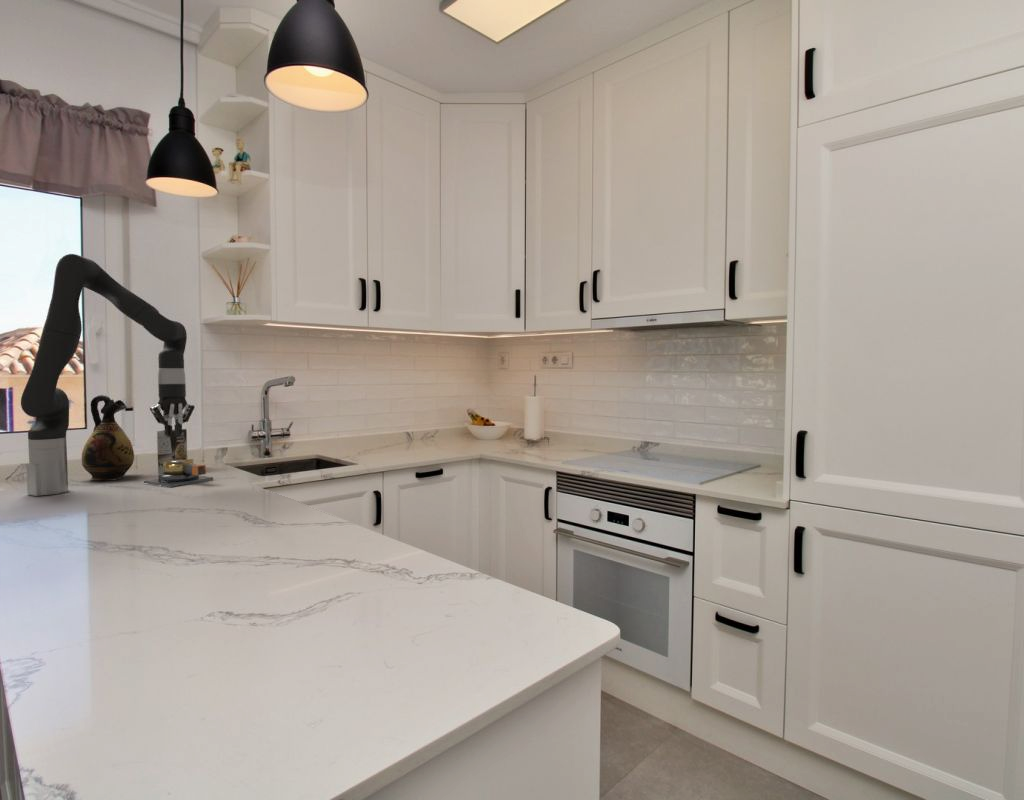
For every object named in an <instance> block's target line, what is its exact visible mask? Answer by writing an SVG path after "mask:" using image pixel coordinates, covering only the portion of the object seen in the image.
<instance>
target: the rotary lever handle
mask: <svg viewBox="0 0 1024 800" xmlns="http://www.w3.org/2000/svg"><path fill="white" fill-rule="evenodd" d="M171 461H173V460H168V462H164V463H163V474H167V475H175V474H186V473H187V474H192V475H199V476H204V475H206V474H207V473H206V472H207V471H206V469H207V468H206V464H194V459H193V458H187V459H186V461H182V462H181V464H172V462H171Z"/></svg>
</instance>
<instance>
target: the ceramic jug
mask: <svg viewBox="0 0 1024 800" xmlns="http://www.w3.org/2000/svg"><path fill="white" fill-rule="evenodd" d="M100 402H104V405H103V406H102V408H101V409H100V412H99V408H98V406H99V404H100ZM126 409H127V405H126V403H125V402H124V401H122V400H121V399H118V400H115V401H114V399H111V398H110V397H109V396H107V395H102V394H99V395H97V396H95V397H93V398H92V399H91V401H90V413H91V415H92V419H93V422H94V428H93V430H92V432H91V434H90V436H89V438H88V439H87V440H86V442H85V444H84V446H83V449H82V452H81V465H82V467H83V468H84V470H85V471H86V472H87V473H89V474H90V475H91V480H93V481H97V480H98V481H99V480H107V481H112V480H111V479H118V480H120V479H119V478H121V479H124V478H123V477H125V475H126V473H127V472H128V471H129V470H130V469H131V468H132V466H133V464H134V460H135V452H134V448H133V444H132V442H131V440H130V438H129V437H128V435H127V434H126V432H125V431H124V429H122V427H121V426H120V425H119V424H118V423H117V421H116V418H115V415H116V413H119V412H120V411H122V410H123V411H124V410H126ZM100 413H101V414H102V418H101V416H100ZM99 482H100V481H99Z"/></svg>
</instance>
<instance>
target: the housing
mask: <svg viewBox="0 0 1024 800" xmlns="http://www.w3.org/2000/svg"><path fill="white" fill-rule="evenodd" d="M182 461H186V460H173V461H171V462H172V464H181V462H182ZM157 475H158V477H157V478H153V479H146V480H143V484H144V483H149V484H155V485H154V486H156V485H161V486H160V487H163V486H167V487H166V488H169V487H170V488H174V487H173V486H176V487H179V486H178V485H182V486H185V485H184V484H188V485H193V484H197V483H198V482H199V483H204V481H205V482H209V480H211V481H214V477H213V476H206V475H192V474H187V473H186V474H175V475H167V474H163V473H158V474H157ZM192 483H193V484H192ZM199 483H198V484H199ZM149 484H148V485H149Z"/></svg>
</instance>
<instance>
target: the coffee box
mask: <svg viewBox="0 0 1024 800" xmlns="http://www.w3.org/2000/svg"><path fill="white" fill-rule="evenodd" d="M187 431H188V430H187V428H182V434H181V436H175V428H174V429H172V437H167V436H166V435H165V429H163V430H158V431H156V433H157V434H156V439H157V440H156V441H157V474H161V473H163V463H164V462H168V460H186V459H188V438H187V437H188V436H187V434H188V432H187Z"/></svg>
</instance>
